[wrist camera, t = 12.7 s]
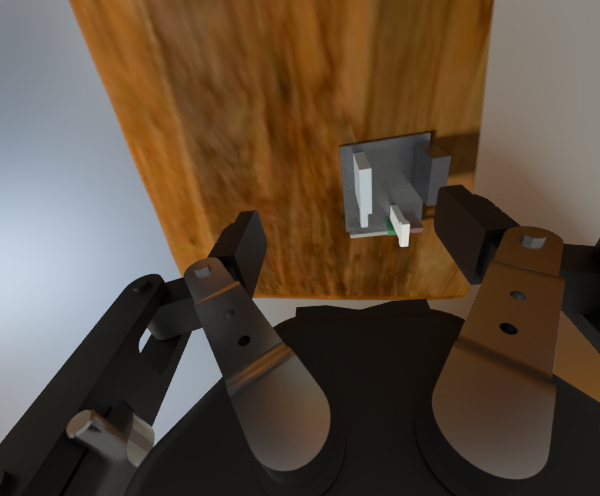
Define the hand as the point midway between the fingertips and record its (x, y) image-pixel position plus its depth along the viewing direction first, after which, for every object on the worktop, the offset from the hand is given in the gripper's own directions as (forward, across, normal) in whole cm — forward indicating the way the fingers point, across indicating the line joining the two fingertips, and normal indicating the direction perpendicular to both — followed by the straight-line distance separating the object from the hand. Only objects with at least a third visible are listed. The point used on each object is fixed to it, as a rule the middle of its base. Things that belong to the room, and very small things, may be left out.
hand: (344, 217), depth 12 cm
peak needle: (+27, -9, +15) cm, 32 cm away
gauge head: (+27, -4, +10) cm, 29 cm away
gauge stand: (+28, -7, +11) cm, 31 cm away
